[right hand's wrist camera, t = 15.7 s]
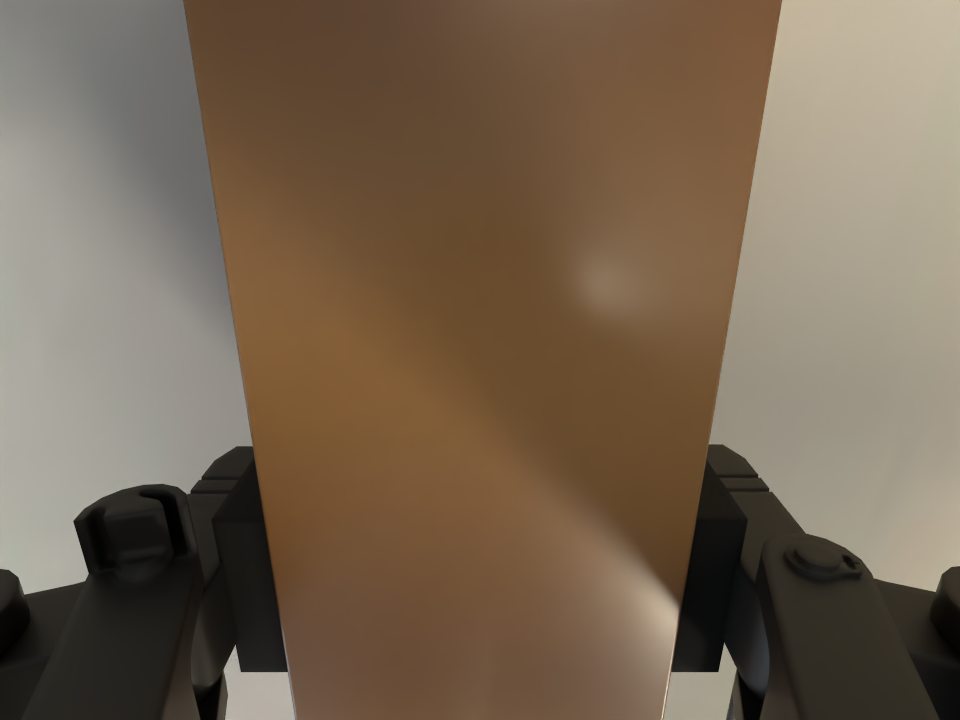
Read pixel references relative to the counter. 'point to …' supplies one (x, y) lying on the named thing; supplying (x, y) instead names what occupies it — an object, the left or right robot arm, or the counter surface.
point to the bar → (481, 331)
